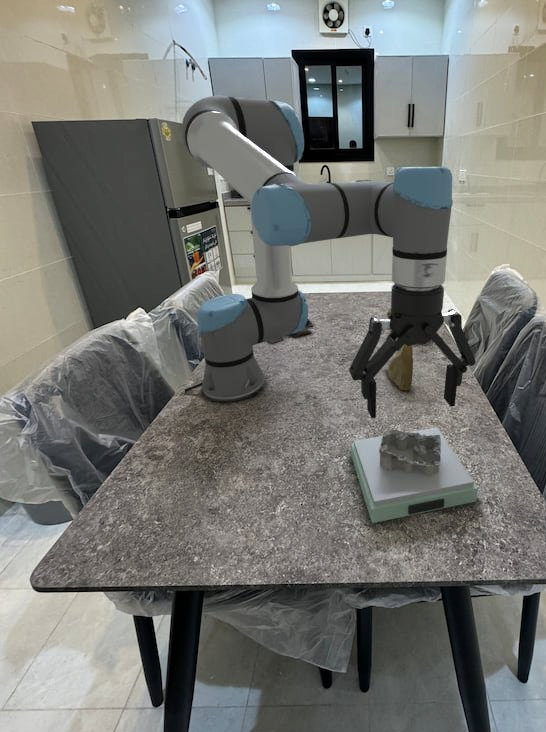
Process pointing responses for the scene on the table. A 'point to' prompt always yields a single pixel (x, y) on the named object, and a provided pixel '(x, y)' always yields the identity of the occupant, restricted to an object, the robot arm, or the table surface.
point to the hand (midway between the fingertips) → (411, 407)
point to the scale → (410, 482)
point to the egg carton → (410, 452)
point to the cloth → (302, 332)
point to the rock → (402, 368)
